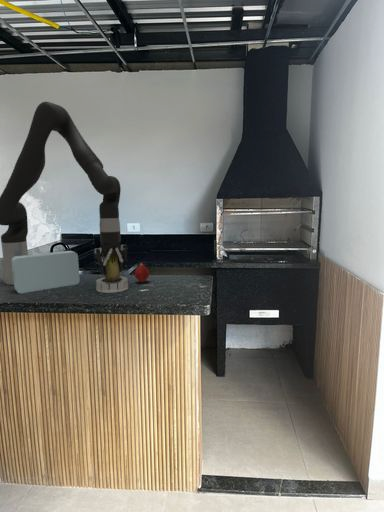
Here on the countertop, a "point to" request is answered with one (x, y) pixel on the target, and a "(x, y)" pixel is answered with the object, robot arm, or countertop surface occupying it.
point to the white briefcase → (45, 271)
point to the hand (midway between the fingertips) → (112, 273)
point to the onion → (141, 273)
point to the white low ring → (112, 285)
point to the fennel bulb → (112, 269)
